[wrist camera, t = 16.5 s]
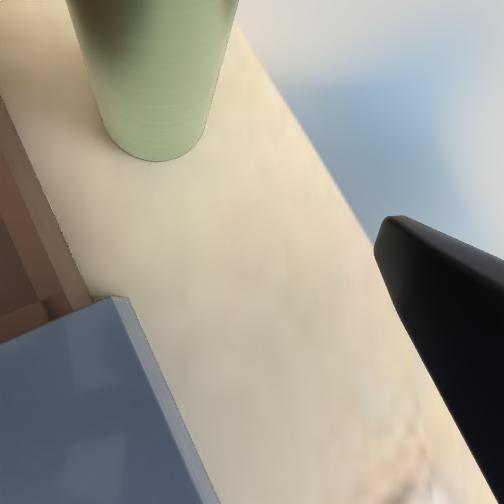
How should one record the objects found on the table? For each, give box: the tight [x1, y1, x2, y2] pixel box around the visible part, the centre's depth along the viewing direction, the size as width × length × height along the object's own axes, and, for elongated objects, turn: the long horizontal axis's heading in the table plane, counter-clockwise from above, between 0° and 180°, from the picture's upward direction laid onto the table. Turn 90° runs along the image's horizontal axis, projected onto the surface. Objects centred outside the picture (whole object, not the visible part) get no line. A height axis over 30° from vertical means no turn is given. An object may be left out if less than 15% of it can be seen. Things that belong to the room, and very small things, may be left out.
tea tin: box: [66, 0, 239, 161], centre depth 14 cm, size 5×5×12 cm
